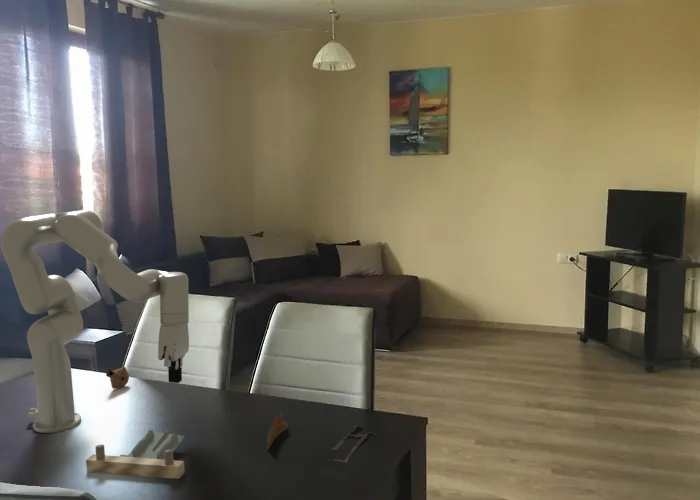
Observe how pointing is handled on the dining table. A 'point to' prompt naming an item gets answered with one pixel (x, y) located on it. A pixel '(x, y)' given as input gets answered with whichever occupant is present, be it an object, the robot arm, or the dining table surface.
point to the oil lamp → (118, 377)
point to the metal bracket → (155, 445)
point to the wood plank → (275, 429)
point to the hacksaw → (364, 437)
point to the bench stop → (135, 465)
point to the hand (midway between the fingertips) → (175, 381)
